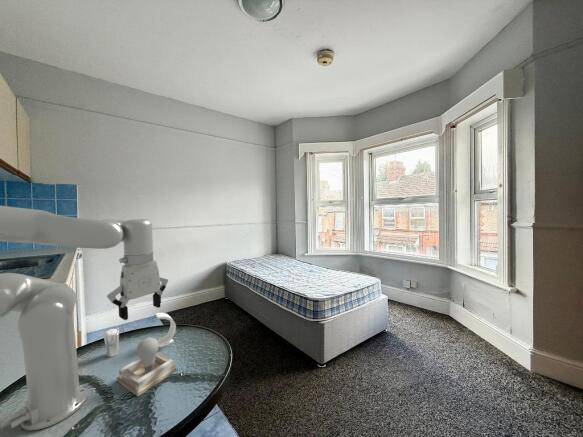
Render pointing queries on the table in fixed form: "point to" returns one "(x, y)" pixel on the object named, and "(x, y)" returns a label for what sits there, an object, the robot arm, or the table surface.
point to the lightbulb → (148, 352)
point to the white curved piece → (168, 337)
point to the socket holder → (145, 374)
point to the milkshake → (112, 342)
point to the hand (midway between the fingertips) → (141, 312)
